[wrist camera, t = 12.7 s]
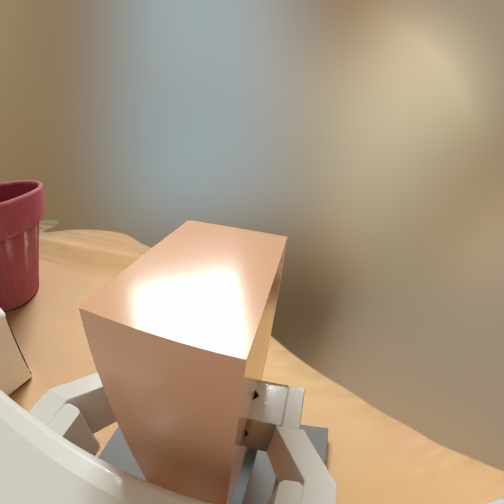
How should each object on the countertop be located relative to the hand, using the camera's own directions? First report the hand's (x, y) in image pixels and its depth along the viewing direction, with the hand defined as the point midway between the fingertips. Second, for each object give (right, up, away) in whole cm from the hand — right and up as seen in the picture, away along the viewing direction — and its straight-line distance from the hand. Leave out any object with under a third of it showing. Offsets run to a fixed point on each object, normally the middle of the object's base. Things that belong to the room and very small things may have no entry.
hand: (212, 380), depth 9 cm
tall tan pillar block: (-1, -7, +2) cm, 7 cm away
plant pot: (-29, -1, +19) cm, 35 cm away
